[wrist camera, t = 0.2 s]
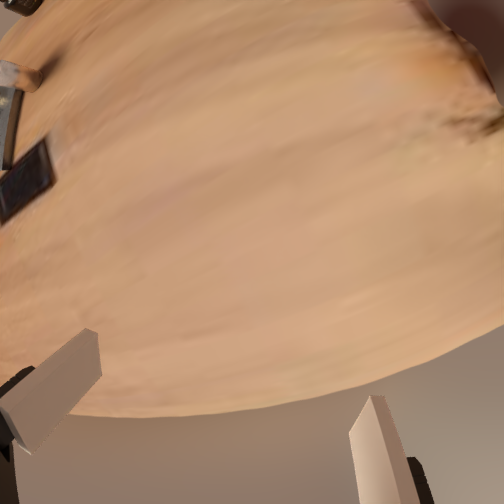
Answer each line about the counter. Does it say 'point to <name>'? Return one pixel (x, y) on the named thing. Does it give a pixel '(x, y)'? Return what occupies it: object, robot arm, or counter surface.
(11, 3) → the supplement bottle
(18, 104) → the plate
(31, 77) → the rounded peg
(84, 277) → the counter surface
